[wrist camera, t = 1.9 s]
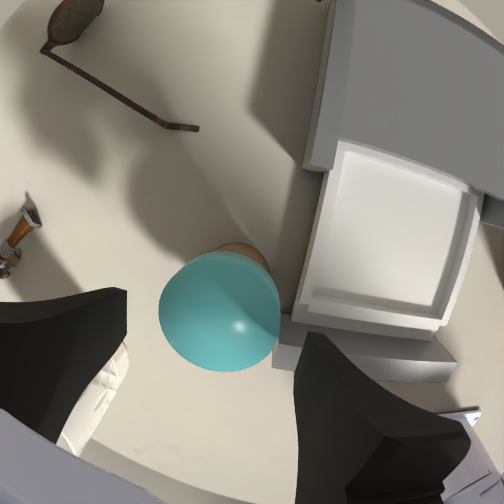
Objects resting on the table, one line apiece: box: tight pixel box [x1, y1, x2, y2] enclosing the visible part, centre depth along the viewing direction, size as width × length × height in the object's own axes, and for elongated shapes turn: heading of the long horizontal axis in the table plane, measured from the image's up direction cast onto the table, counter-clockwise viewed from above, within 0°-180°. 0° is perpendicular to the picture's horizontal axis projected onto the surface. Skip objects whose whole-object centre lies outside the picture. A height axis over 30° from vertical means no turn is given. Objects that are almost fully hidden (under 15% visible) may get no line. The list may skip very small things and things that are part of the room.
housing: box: [301, 0, 504, 229], centre depth 12 cm, size 12×13×4 cm
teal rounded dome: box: [159, 251, 281, 372], centre depth 13 cm, size 5×5×2 cm
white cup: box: [56, 342, 129, 457], centre depth 16 cm, size 8×8×10 cm
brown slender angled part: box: [0, 206, 42, 279], centre depth 18 cm, size 2×8×4 cm, turn 132°
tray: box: [272, 140, 485, 382], centre depth 15 cm, size 13×12×4 cm
